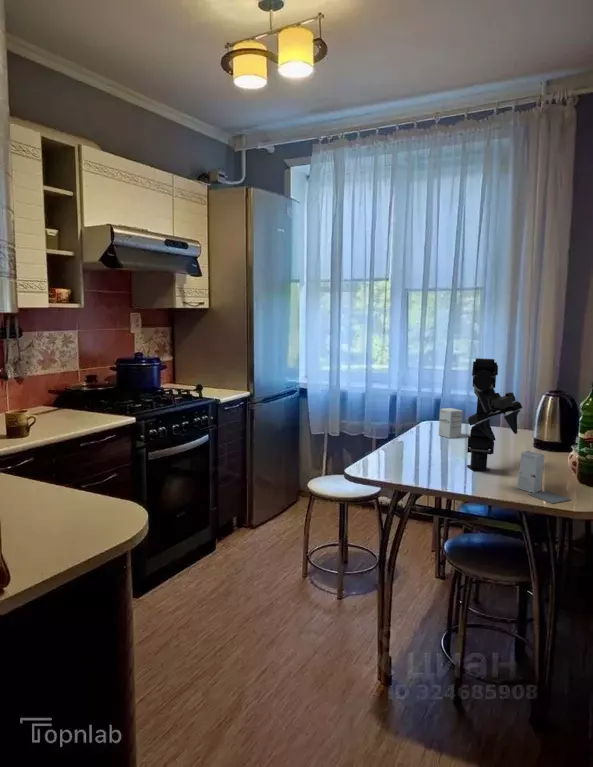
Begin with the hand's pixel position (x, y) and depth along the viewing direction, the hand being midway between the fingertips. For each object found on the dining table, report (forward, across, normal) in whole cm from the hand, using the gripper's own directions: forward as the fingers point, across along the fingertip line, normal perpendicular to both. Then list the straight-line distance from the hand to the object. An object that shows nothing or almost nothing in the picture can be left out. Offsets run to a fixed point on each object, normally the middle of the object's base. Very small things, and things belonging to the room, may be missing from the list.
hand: (505, 437), depth 186 cm
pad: (+22, 0, -8) cm, 23 cm away
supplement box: (-12, +23, +66) cm, 71 cm away
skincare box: (+18, 0, -1) cm, 19 cm away
